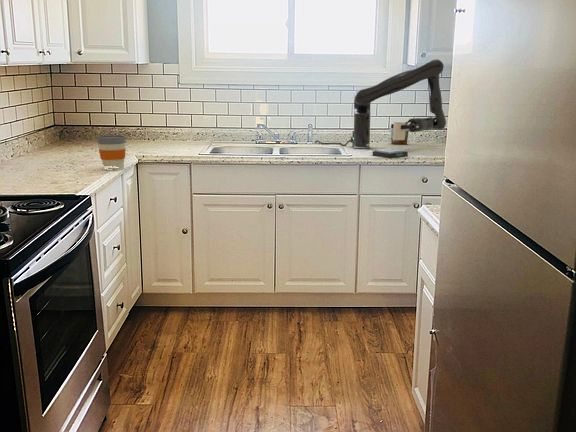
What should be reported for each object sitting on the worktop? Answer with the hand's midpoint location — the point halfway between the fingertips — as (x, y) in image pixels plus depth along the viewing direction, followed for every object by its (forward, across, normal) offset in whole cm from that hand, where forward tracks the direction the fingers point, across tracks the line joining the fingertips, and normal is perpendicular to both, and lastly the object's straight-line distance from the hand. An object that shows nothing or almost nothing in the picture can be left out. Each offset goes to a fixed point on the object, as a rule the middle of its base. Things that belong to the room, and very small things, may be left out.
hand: (396, 126), depth 332 cm
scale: (+11, +6, +14) cm, 19 cm away
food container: (-27, -24, +14) cm, 39 cm away
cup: (-2, 0, +7) cm, 7 cm away
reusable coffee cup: (+141, -45, +15) cm, 149 cm away
